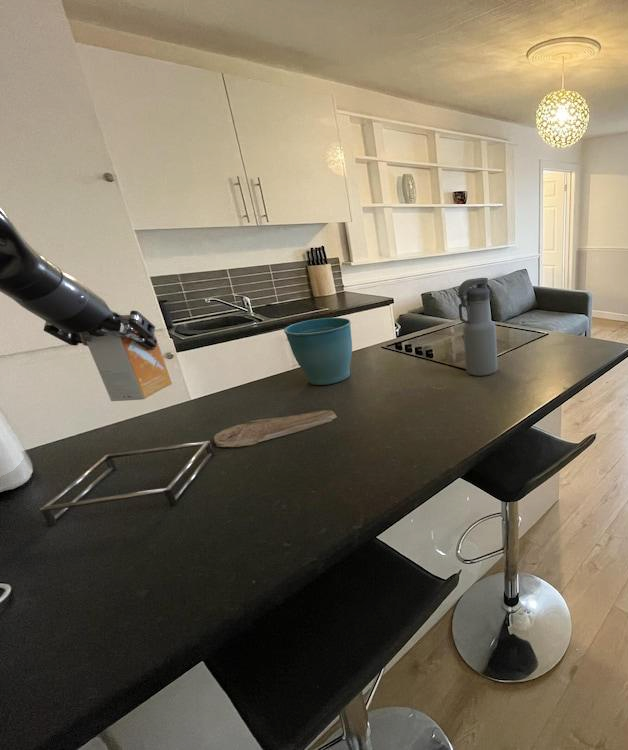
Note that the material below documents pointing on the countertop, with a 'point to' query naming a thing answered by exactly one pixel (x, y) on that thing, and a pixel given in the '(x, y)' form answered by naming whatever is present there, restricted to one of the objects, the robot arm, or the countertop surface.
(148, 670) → the countertop surface
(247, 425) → the fish fossil
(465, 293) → the water bottle
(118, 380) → the small box
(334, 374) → the flower pot
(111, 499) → the metal rack
